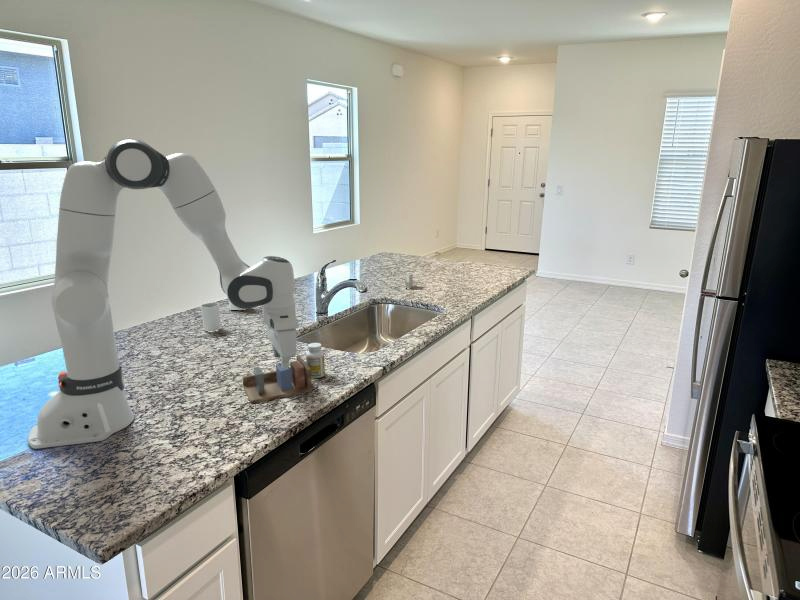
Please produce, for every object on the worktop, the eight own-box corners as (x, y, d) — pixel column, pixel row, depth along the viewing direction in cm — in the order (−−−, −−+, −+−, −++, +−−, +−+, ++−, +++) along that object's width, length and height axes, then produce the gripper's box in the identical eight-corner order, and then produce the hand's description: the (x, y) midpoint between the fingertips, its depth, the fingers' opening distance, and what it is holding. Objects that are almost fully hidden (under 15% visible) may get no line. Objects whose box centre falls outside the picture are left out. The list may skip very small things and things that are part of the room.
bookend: (259, 395, 148) (257, 374, 146) (255, 387, 152) (253, 367, 151) (264, 393, 148) (263, 373, 147) (260, 386, 153) (259, 366, 151)
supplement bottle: (316, 370, 167) (315, 340, 164) (328, 374, 163) (327, 344, 161) (303, 375, 163) (301, 345, 160) (315, 380, 159) (313, 349, 157)
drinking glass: (224, 327, 207) (222, 302, 204) (217, 333, 200) (214, 307, 198) (207, 327, 207) (205, 302, 205) (199, 332, 201) (197, 307, 198)
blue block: (281, 391, 150) (280, 371, 149) (277, 383, 155) (275, 364, 153) (292, 389, 151) (291, 369, 150) (287, 381, 156) (286, 362, 155)
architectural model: (402, 289, 264) (402, 275, 262) (406, 286, 270) (406, 272, 268) (409, 290, 263) (409, 275, 261) (413, 287, 269) (413, 272, 267)
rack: (250, 403, 145) (248, 380, 143) (243, 386, 155) (241, 365, 153) (311, 391, 152) (310, 369, 150) (300, 376, 162) (299, 355, 160)
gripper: (259, 306, 155) (261, 351, 159) (276, 326, 137) (278, 377, 141) (281, 304, 158) (283, 348, 161) (300, 324, 140) (301, 373, 143)
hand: (280, 362), depth 151 cm, fingers open, 8 cm apart
